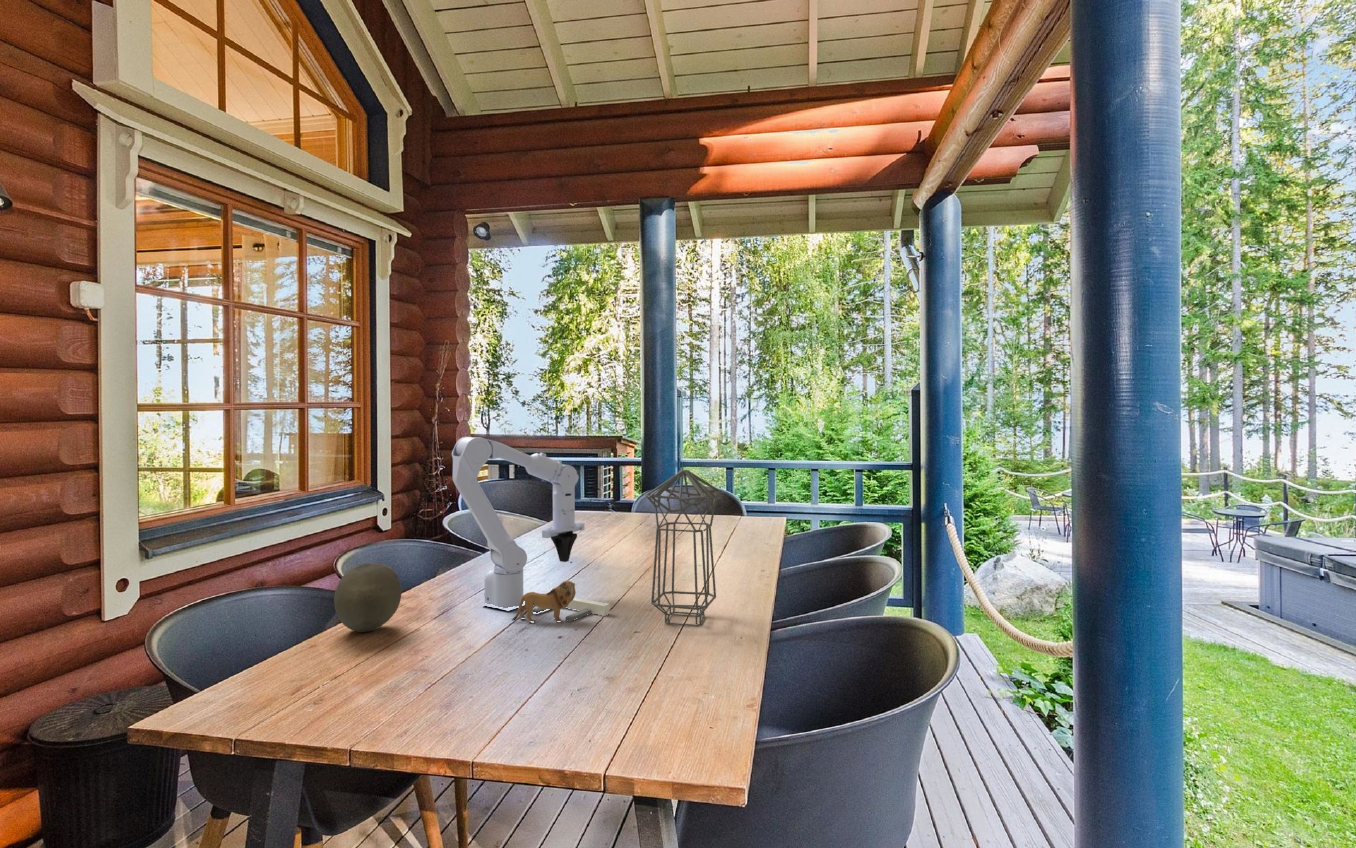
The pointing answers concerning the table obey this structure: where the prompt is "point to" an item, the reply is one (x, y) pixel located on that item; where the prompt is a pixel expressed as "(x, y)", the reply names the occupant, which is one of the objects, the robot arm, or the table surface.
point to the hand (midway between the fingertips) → (564, 561)
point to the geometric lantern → (701, 498)
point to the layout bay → (584, 608)
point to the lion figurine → (548, 600)
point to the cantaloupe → (367, 596)
